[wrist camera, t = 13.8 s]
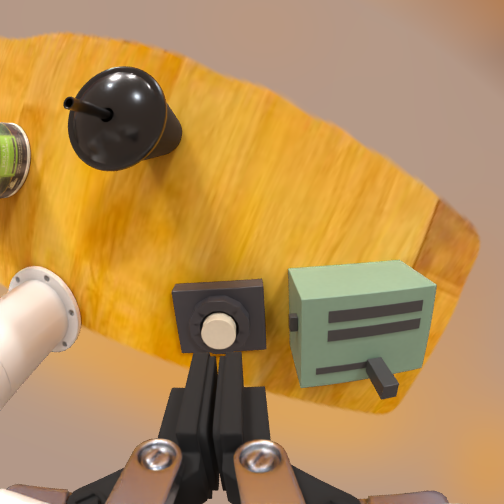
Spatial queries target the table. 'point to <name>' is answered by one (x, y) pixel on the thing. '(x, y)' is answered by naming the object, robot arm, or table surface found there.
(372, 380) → the slider
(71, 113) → the drinking cup
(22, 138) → the coffee can
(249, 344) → the control block
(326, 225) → the table surface
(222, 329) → the button
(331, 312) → the toaster
